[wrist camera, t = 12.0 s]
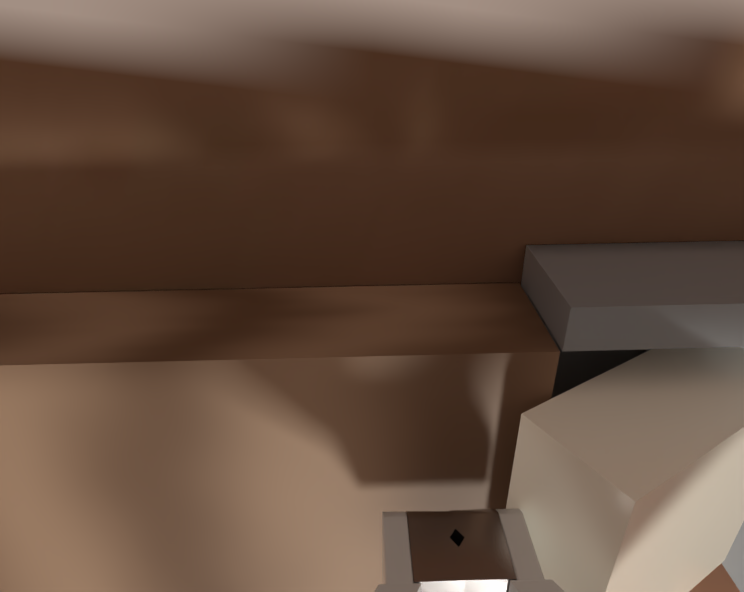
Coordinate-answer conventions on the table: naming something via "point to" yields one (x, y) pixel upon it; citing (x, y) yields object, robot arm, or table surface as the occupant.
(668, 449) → the cream tile
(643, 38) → the table surface
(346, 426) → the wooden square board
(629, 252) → the box
